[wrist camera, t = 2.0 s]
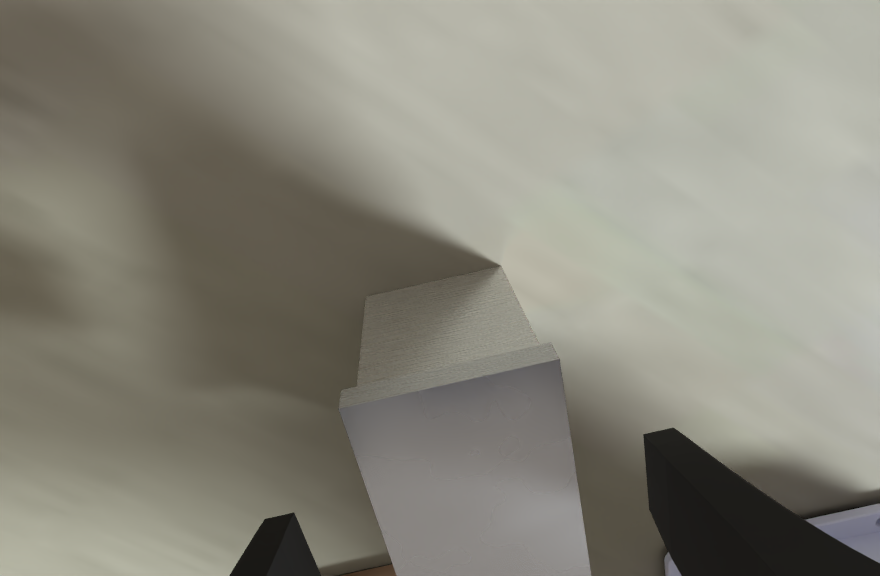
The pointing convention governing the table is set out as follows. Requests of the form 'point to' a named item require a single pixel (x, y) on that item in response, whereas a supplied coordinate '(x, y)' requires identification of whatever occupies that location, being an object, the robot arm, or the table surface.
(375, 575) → the walnut holder
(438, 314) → the pale gray rectangular block
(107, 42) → the table surface
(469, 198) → the table surface
